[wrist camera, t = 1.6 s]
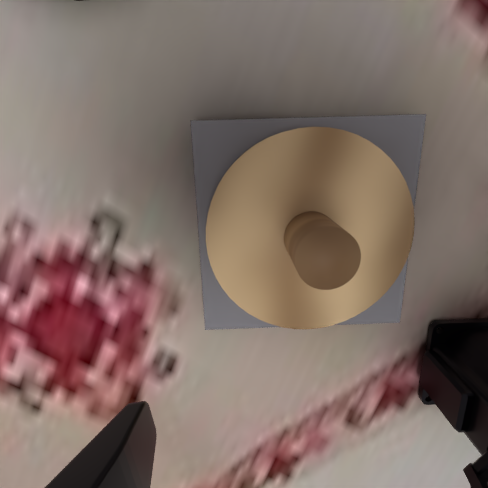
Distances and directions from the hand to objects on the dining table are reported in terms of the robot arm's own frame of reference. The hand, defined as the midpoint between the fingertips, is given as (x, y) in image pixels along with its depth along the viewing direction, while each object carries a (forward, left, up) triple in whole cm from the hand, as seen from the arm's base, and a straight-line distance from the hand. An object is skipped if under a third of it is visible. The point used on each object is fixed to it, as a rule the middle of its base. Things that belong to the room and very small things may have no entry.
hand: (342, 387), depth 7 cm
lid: (-2, -1, -12) cm, 12 cm away
